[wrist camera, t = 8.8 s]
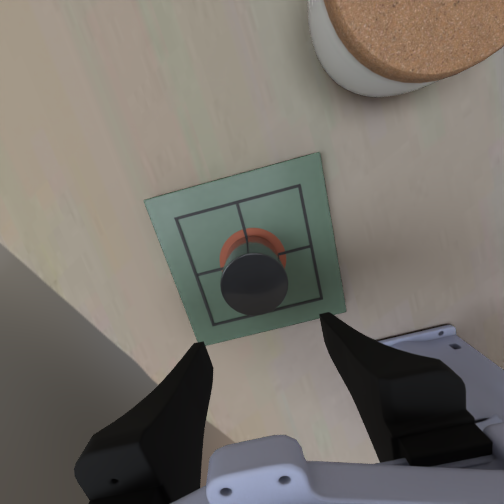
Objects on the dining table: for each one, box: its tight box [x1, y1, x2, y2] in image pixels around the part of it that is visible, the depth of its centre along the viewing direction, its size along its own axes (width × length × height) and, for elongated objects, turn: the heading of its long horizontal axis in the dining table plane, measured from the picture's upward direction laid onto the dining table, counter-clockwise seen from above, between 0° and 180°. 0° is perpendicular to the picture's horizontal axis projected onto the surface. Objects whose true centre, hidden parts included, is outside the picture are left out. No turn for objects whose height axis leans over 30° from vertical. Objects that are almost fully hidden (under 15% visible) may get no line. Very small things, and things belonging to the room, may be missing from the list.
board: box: [144, 152, 346, 346], centre depth 21 cm, size 14×14×2 cm
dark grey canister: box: [220, 235, 288, 316], centre depth 18 cm, size 4×4×5 cm
